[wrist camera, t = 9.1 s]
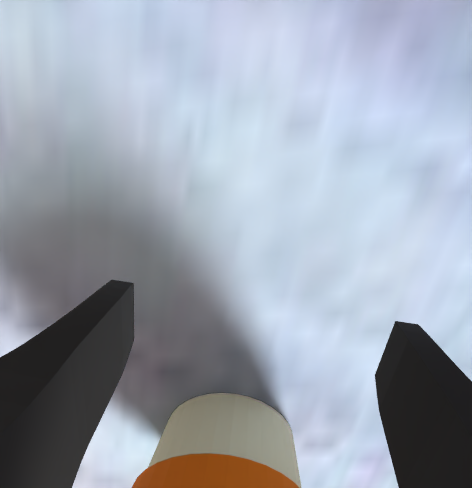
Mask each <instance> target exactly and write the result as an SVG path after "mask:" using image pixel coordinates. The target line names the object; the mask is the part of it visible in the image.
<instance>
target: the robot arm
mask: <svg viewBox="0 0 472 488" xmlns="http://www.w3.org/2000/svg"><path fill="white" fill-rule="evenodd" d="M133 341H134V283H130V282H123V281H116V280H111V281H110V282H108V283H107V284H106V285H104V286H103V287H102V288H100V289H99V290H98V291H96V292H95V293H94V294H93V295H91V296H90V297H89V298H87V299H86V300H85V301H84V302H82V303H81V304H80V305H78V306H77V307H76V308H74V309H73V310H72V311H70V312H69V313H68V314H66V315H65V316H64V317H62V318H61V319H59V320H58V321H57V322H55V323H54V324H53V325H51V326H50V327H48V328H47V329H45V330H44V331H42V332H41V333H39V334H38V335H36V336H35V337H33V338H32V339H30V340H29V341H27V342H26V343H24V344H23V345H21V346H19V347H18V348H16V349H14V350H13V351H11V352H9V353H7V354H6V355H4V356H2V357H0V488H72V486H73V483H74V480H75V477H76V475H77V472H78V469H79V466H80V464H81V461H82V459H83V456H84V454H85V452H86V449H87V447H88V445H89V443H90V441H91V438H92V436H93V434H94V432H95V430H96V428H97V426H98V424H99V422H100V420H101V418H102V416H103V413H104V411H105V409H106V407H107V405H108V403H109V401H110V399H111V397H112V395H113V393H114V390H115V388H116V386H117V384H118V382H119V380H120V378H121V376H122V373H123V371H124V368H125V365H126V362H127V359H128V356H129V353H130V350H131V347H132V344H133ZM375 380H376V389H377V398H378V405H379V412H380V416H381V420H382V424H383V428H384V432H385V436H386V440H387V444H388V448H389V451H390V455H391V459H392V463H393V467H394V471H395V474H396V478H397V482H398V486H399V488H472V381H471V380H470V379H469V378H468V377H467V376H466V375H465V374H464V373H463V372H462V371H461V370H460V369H459V368H458V367H457V366H456V365H455V363H454V362H453V361H452V360H451V359H450V358H449V357H448V356H447V355H446V354H445V353H444V351H443V350H442V349H441V348H440V347H439V346H438V345H437V344H436V343H435V342H434V341H433V339H432V338H431V337H430V336H429V335H428V334H427V333H426V332H425V331H424V330H423V329H422V328H421V327H420V326H419V325H418V324H411V323H404V322H398V321H395V324H394V326H393V329H392V332H391V334H390V337H389V340H388V342H387V345H386V347H385V350H384V353H383V355H382V358H381V361H380V363H379V366H378V369H377V371H376V374H375Z"/></svg>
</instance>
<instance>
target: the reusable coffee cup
mask: <svg viewBox="0 0 472 488" xmlns="http://www.w3.org/2000/svg"><path fill="white" fill-rule="evenodd" d="M132 488H301V482H300V476H299V470H298V464H297V458H296V452H295V446H294V440H293V435H292V430H291V428H290V426H289V424H288V422H287V421H286V420H285V419H284V417H283V416H282V415H281V414H280V413H279V412H277V411H276V410H275V409H274V408H272V407H271V406H269V405H267V404H265V403H263V402H262V401H259V400H256V399H254V398H251V397H248V396H243V395H239V394H231V393H212V394H206V395H201V396H197V397H195V398H192V399H190V400H187V401H186V402H184V403H183V404H181V405H180V406H178V407H177V408H176V409H175V410H174V412H173V413H172V414H171V416H170V418H169V420H168V422H167V425H166V427H165V429H164V432H163V434H162V436H161V439H160V441H159V443H158V446H157V448H156V450H155V453H154V455H153V457H152V460H151V462H150V464H149V467H148V468H147V469H146V470H145V471H144V472H143V473H141V474H140V475H139V476H138V477H137V479H136V481H135V483H134V485H133V487H132Z"/></svg>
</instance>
